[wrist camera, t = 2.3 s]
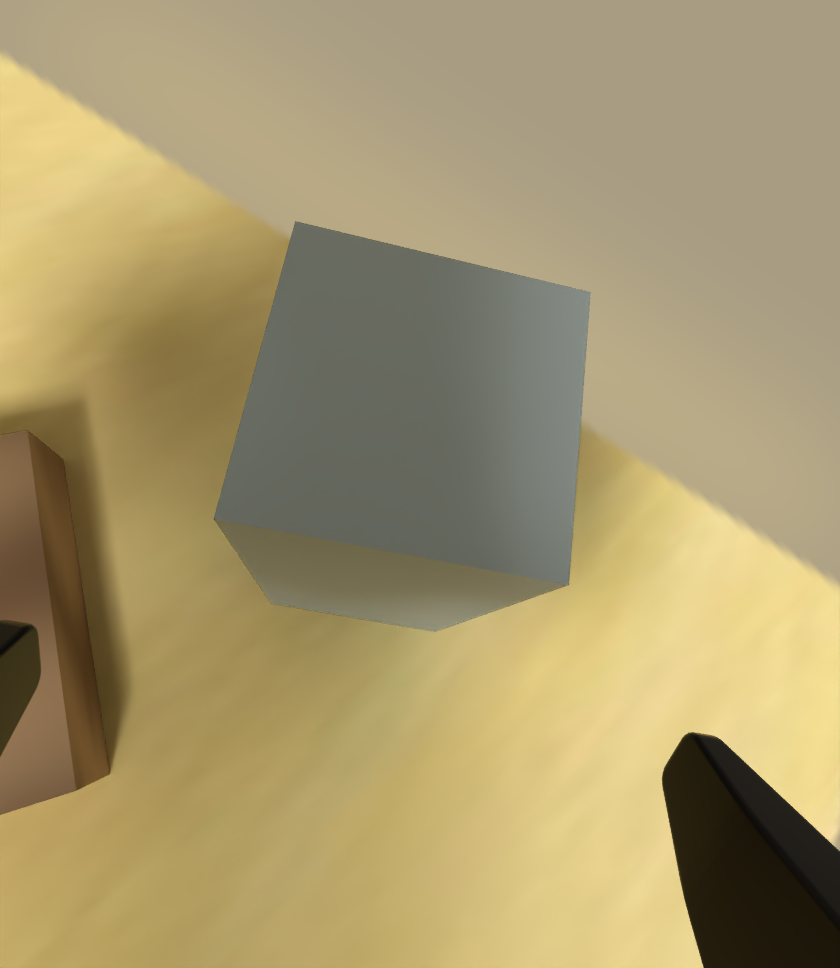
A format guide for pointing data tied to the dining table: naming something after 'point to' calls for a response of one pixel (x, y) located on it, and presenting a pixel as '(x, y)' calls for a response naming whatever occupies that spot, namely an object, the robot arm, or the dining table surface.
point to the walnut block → (46, 630)
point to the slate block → (408, 435)
